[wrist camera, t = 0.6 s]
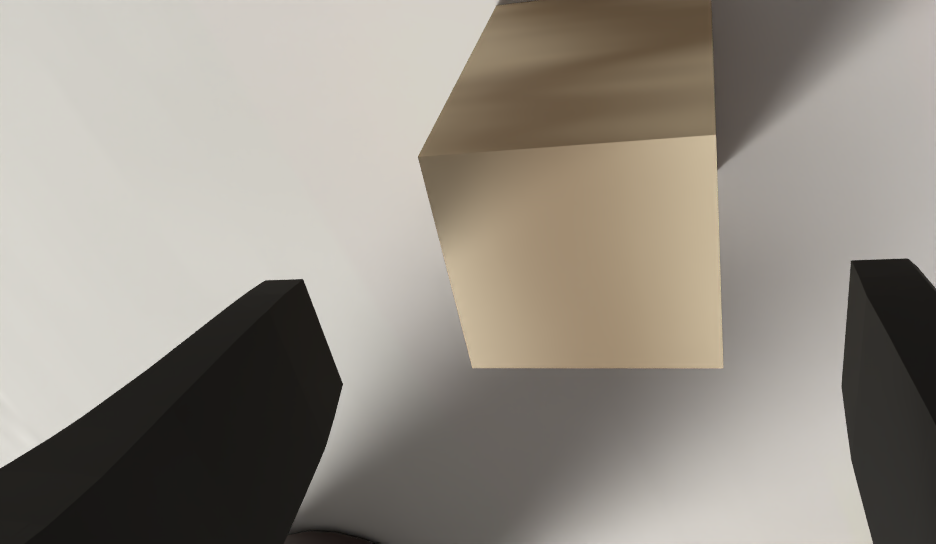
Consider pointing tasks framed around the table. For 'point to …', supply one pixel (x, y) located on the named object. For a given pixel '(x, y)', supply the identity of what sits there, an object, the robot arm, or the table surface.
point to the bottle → (323, 538)
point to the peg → (583, 187)
